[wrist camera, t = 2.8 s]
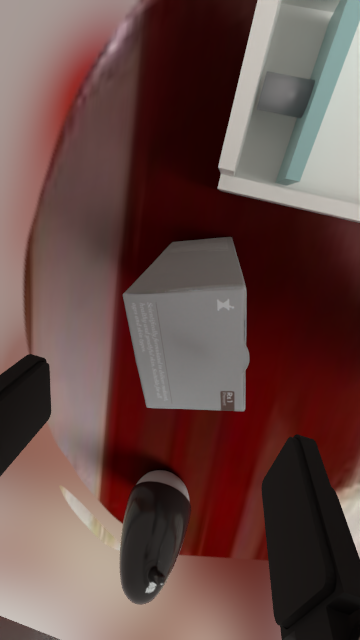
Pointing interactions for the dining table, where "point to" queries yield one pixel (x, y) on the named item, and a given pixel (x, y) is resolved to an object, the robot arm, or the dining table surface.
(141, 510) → the dark grey egg shape
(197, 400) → the skincare box
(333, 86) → the pusher
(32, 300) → the dining table surface
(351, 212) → the open box with divider
